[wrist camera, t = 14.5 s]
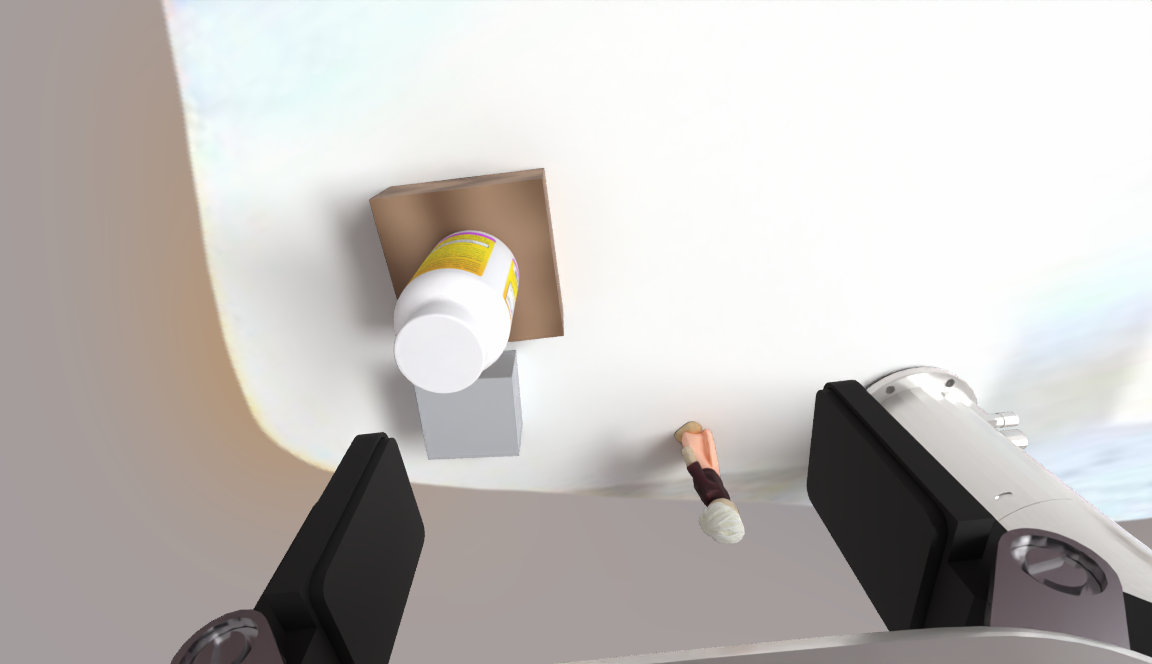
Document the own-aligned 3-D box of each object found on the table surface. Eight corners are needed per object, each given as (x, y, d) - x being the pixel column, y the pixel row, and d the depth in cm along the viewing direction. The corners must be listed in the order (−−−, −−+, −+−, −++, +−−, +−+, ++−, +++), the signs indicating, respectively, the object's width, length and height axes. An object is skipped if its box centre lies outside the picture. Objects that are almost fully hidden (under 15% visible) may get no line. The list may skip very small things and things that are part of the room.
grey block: (516, 349, 47) (511, 377, 42) (522, 422, 50) (519, 455, 46) (427, 352, 47) (413, 381, 42) (439, 425, 50) (428, 459, 46)
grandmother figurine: (730, 447, 52) (778, 549, 41) (699, 468, 53) (738, 574, 42) (683, 401, 49) (721, 496, 38) (652, 424, 51) (680, 523, 39)
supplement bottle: (409, 264, 38) (343, 344, 26) (478, 208, 36) (440, 267, 25) (472, 330, 40) (437, 430, 28) (538, 280, 38) (530, 364, 27)
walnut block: (544, 168, 40) (542, 178, 35) (563, 310, 45) (563, 335, 41) (390, 186, 40) (368, 199, 36) (426, 326, 45) (412, 352, 41)
